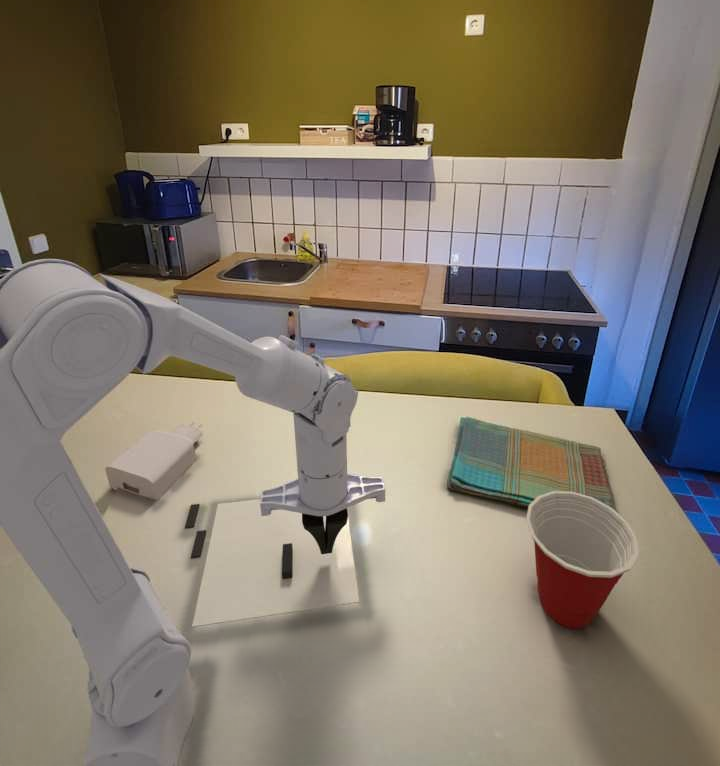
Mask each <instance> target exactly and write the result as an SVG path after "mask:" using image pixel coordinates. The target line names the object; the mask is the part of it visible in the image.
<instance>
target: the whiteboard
mask: <svg viewBox="0 0 720 766" xmlns="http://www.w3.org/2000/svg"><path fill="white" fill-rule="evenodd" d="M260 499H261V498H258V499H249V500H240V501H232V502H231V501H230V502H222V503H217V506H216V511H215V515H214V520H213V525H212V529H211V534H210V539H209V544H208V549H207V552H206V558H205V564H204V568H203V572H202V577H201V582H200V587H199V591H198V595H197V601H196V606H195V611H194V615H193V619H192V625H191V628H195V627H201V626H208V625H214V624H221V623H228V622H235V621H241V620H242V621H244V620H249V619H255V618H263V617H269V616H276V615H282V614H289V613H296V612H303V611H311V610H317V609H323V608H324V609H325V608H330V607H331V608H332V607H336V606H343V605H350V604H351V605H352V604H357V603H360V596H359V595H360V594H359V587H358V580H357V572H356V565H355V556H354V551H353V543H352V535H351V528H350V527H351V526H350V520H349V518H348V519H347V523H346V525H345V526H344V527H343V528H342V529H341V530H340V532H339V533H338V535H337V537H336V540H335V542H334V545H333V550H332V553H329V554H321V551H320V548H319V546H318V544H317V542H316V540H315V539H314V537H313V536H312V535H311V534H310V533H309V532H308V531H307V530H305V529H304V526H303V523H302V513H298V512H292V511H287V510H281V509H279V510H271V514H270V515H267V516H261V507H260ZM323 520H324V527H325V525H326V516H323ZM289 543H292V548H293V569H292V578H289V579H282V552H283V544H289Z"/></svg>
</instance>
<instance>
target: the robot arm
mask: <svg viewBox="0 0 720 766" xmlns="http://www.w3.org/2000/svg"><path fill="white" fill-rule="evenodd" d="M99 277H100V278H101V279H102V281H103V282H104V284H103V283H101V282H100V281H98V280H97V279H96V278H94V276H93V274H92V273H90V272H89V271H88V270H86V269H85V268H84V267H82V266H80V265H79V264H76V263H74V262H71V261H68V260H64V259H57V258H41V259H36V260H32V261H27V262H25V263H23V264H20V265H18V266H16V267H14V268H13V269H11V270H10V271H9V272H7V273H6V274H5V275H4V276H3V277H2V278H1V279H0V528H1V529H2V530H3V532H4V533H5V535H6V536H7V538H8V539H9V540H10V541H11V543H12V545H13V546H14V547H15V548H16V550H17V551H18V552H19V554H20V555H21V557H22V558H23V560H24V561H25V563H26V564H27V566H29V568H30V570H31V571H32V573H33V574H34V575H35V576H36V578H37V579H38V581H39V582H40V584H41V585H42V586H43V588H44V589H45V590H46V592H47V593H48V595H49V596H50V597H51V599H52V600H53V601H54V604H55V605H56V606H57V607H58V609H59V610H60V612H61V613H62V614H63V615H64V617H65V618H66V620H67V621H68V622H69V624H70V628H71V632H72V633H73V635H74V636H75V639H76V640H77V641H78V644H79V646H80V648H81V652H82V654H83V656H84V659H85V662H86V664H87V666H88V669H89V671H88V681H87V694H88V699H89V701H90V710H91V723H90V730H89V731H90V732H89V736H88V737H89V738H88V741H87V745H86V749H85V752H84V756H83V758H82V762H81V765H80V766H179V761H180V757H181V753H182V749H183V746H184V743H185V740H186V738H187V735H188V733H189V731H190V728H191V726H192V723H193V720H194V715H195V712H196V711H195V709H196V697H195V692H194V686H193V682H192V678H191V674H190V670H189V669H190V668H189V664H190V662H191V656H192V653H191V652H192V647H191V645H190V642H189V641H188V640H187V639H186V637H185V636H184V635H182V634H181V632H180V629H179V628H178V626H177V625H176V624H175V622H174V620H173V619H172V617H171V616H170V614H169V612H168V610H167V608H165V606H164V603H163V602H162V600H161V599H160V597H159V595H158V594H157V592H156V590H155V589H154V587H153V586H152V584H151V579H150V577H149V575H148V573H147V572H146V571H145V570H144V568H142V567H139V566H135V565H131V564H129V563H128V562H127V560H126V557H125V556H124V555H123V552H122V551H121V549H120V547H119V545H118V544H117V542H116V540H115V538H114V536H113V534H112V533H111V531H110V528H109V527H108V526H107V524H106V522H105V520H104V518H103V517H102V515H101V513H100V511H99V509H98V507H97V506H96V504H95V502H94V500H93V498H92V496H91V495H90V493H89V491H88V489H87V487H86V485H85V483H84V482H83V480H82V478H81V476H80V474H79V472H78V471H77V469H76V467H75V465H74V464H73V462H72V460H71V458H70V456H69V455H68V452H67V451H66V449H65V447H64V445H63V444H62V439H63V437H64V435H65V434H66V433H67V432H68V431H69V430H70V429H71V428H73V426H74V425H76V423H78V422H79V421H80V420H81V419H82V418H84V417H85V415H87V414H88V413H89V412H90V411H91V410H92V409H93V408H95V406H96V405H98V404H99V403H100V402H101V401H102V400H103V399H104V398H105V397H107V396H108V395H109V394H110V393H111V392H113V390H115V388H117V387H118V386H119V385H120V384H121V383H122V382H123V381H124V380H125V379H126V378H127V377H128V376H129V375H130V374H131V373H132V372H133V371H134V369H135V368H136V370H138V371H139V372H140V373H142V374H143V375H145V374H149V373H151V372H152V371H154V370H155V369H156V368H158V367H159V366H160V365H161V364H162V363H163V362H165V360H167V359H168V358H169V357H174V358H177V359H180V360H184V361H187V362H189V363H193V364H196V365H199V366H202V367H205V368H208V369H211V370H214V371H218V372H220V373H223V374H226V375H229V376H232V377H234V380H235V384H236V386H237V389H238V390H239V392H240V393H241V394H242V395H243V396H244V397H247V398H249V399H253V400H255V401H258V402H262V403H264V404H267V405H270V406H272V407H276V408H278V409H281V410H284V411H287V412H290V413H292V414H293V427H294V441H295V454H296V455H295V456H296V469H297V470H296V472H297V479H294V480H292V481H289V482H286V483H284V484H281V485H279V486H276V487H273V488H269V489H261V491H260V498H259V499H260V507H261V516H267V515H270V514H271V510H279V509H281V510H287V511H292V512H298V513H302V523H303V526H304V529H305V530H307V531H308V532H309V533H310V534H311V535H312V536H313V537H314V539H315V540H316V542H317V544H318V546H319V548H320V551H321V554H329V553H332V550H333V545H334V542H335V540H336V537H337V535H338V533H339V532H340V530H341V529H342V528H343V527H344V526H345V525H346V523H347V519H349V513H348V512H349V511H348V508H351V507H353V506H355V505H357V504H359V503H362V502H364V501H366V500H371V499H375V502H377V503H383V502H386V485H385V481H384V477H383V476H378V477H377V476H375V477H373V476H364V475H358V474H351V473H348V435H347V434H348V433H349V431H350V428H351V419H352V414H353V411H354V410H355V407H356V405H357V403H358V397H359V390H356V389H355V386H354V385H353V383H351V382H352V380H351V378H350V377H349V376H348V375H346V374H344V373H342V372H341V371H338V370H336V369H335V368H333V367H331V366H329V365H327V364H325V362H326V360H325V359H324V358H323V357H321V356H319V355H317V354H316V353H311V355H308V354H306V353H304V352H302V351H300V350H299V349H297V347H298V345H299V344H298V342H297V341H295V340H293V339H291V338H290V337H287V336H285V335H283V334H280V335H279V336H278V339H277V338H275V337H273V336H262V337H258V338H257V339H255V340H253V341H251V342H250V341H248V340H247V339H244V338H242V337H240V336H239V335H238V334H235V333H233V332H231V331H229V330H227V329H226V328H224V327H222V326H220V325H218V324H216V323H214V322H212V321H211V320H208V319H206V318H205V317H203V316H201V315H199V314H198V313H196V312H194V311H192V310H190V309H188V308H186V307H184V306H182V305H181V304H178V303H176V302H175V301H172V300H171V299H169V298H167V297H165V296H163V295H161V294H158V293H155V292H153V291H150V290H148V289H145V288H142V287H139V286H137V285H134V284H131V283H129V282H126V281H123V280H121V279H118V278H115V277H112V276H108V275H106V274H102V273H100V274H99ZM323 516H326V525H325V527H324V520H323Z"/></svg>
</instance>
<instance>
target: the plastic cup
mask: <svg viewBox="0 0 720 766" xmlns="http://www.w3.org/2000/svg"><path fill="white" fill-rule="evenodd" d="M525 521H526V524H527V526H528V530H529V532H530V536H531V538H532V541H533V543H534V557H535V558H534V560H535V571H536V572H535V573H536V579H537V593H538V598H539V601H540V604H541V606H542V608H543V609H544V611H545V613H546V614H547V615H548V616H549V617H550V618H551V619H552V620H553V621H554V622H556V623H557V624H559V625H561V626H563V627H566V628H567V629H573V630H581V629H584V628H585V627H588V625H591V622H592V621H593V619H594V618H595V617H596V615H597V613H598V612H599V611H600V610H601V609H602V607H603V606H604V604H605V603H606V601H607V599H608V597H609V596H610V594H611V592H612V591H613V590H614V587H615V586H616V585H617V584H618V582H619V580H620V579H621V578H622V576H623V575H624V574H625V573H627V572H629V571H630V570H631V569H632V567H633V565H634V564H635V562H636V560H637V559H638V558H639V555H640V552H639V543H638V542H639V540H638V537H637V536H636V534H635V531H634V530H633V528H632V527H631V526H630V523H629V522H628V521H627V520H626V519H625V518H624V517H623V516H621V515H620V514H619V513H618V512H617V511H616V509H615V510H613V509H612V508H611V507H609V506H607V505H606V504H604V503H602V502H600V501H598V500H596V499H594V498H593V497H590V496H586V495H582V494H579V493H575V492H570V491H552V492H549V493H546V494H543V495H540V496H538V497H537V498H536V499H535V500H534V501H533V502H532V503H531V504H530V505H529V507H527V513H526V516H525Z"/></svg>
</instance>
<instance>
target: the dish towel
mask: <svg viewBox="0 0 720 766" xmlns="http://www.w3.org/2000/svg"><path fill="white" fill-rule="evenodd" d="M446 480H447V481H446V488H448V489H450V490H452V491H455V492H459V493H463V494H467V495H472V496H477V497H478V496H479V497H483V498H486V499H490V500H493V501H494V500H495V501H500V502H503V503H508V504H512V505H515V506H520V507H524V508H528V507H529V505H530V504H531V503H532V502H533V501H534V500H535V499H536V498H537V497H538V496H540V495H543V494H546V493H549V492H552V491H570V492H575V493H579V494H582V495H586V496H590V497H593V498H594V499H596V500H598V501H600V502H602V503H604V504H606V505H607V506H609V507H611V508H612V509H613V510H615V511H616V508H615V505H614V501H613V496H612V492H611V488H610V485H609V481H608V476H607V473H606V469H605V465H604V461H603V458H602V448H601V447H599V446H596V445H591V444H586V443H581V442H576V441H574V440H569V439H565V438H560V437H558V436H557V437H556V436H552V435H547V434H543V433H538V432H534V431H529V430H524V429H519V428H514V427H509V426H505V425H499V424H495V423H492V422H487V421H483V420H481V419H477V418H473V417H471V416H465V417H464V416H461V417H460V421H459V427H458V433H457V438H456V444H455V448H454V453H453V458H452V461H451V465H450V470H449V473H448V478H447V479H446Z"/></svg>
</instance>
